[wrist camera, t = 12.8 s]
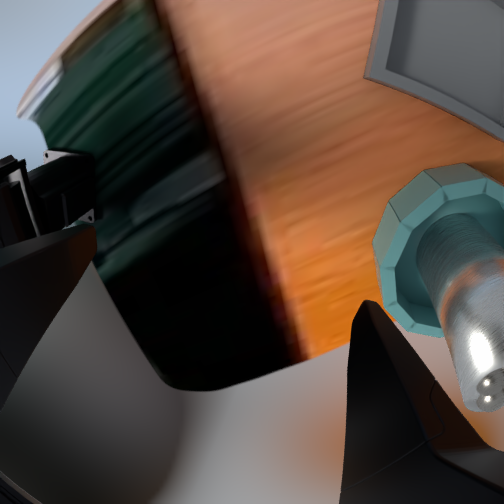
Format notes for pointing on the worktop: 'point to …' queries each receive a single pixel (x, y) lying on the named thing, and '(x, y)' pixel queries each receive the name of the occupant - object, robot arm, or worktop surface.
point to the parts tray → (443, 56)
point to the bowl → (415, 225)
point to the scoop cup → (468, 303)
